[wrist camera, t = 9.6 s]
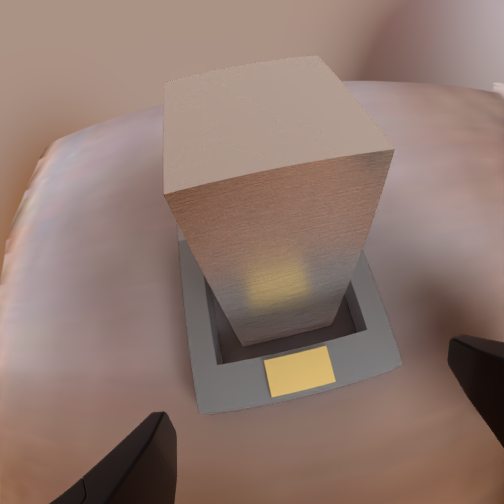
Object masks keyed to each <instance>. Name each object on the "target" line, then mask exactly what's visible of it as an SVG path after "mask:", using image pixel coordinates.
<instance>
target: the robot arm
mask: <svg viewBox="0 0 504 504" xmlns="http://www.w3.org/2000/svg"><path fill="white" fill-rule="evenodd" d="M448 364H449V367H450V368H451V370H452V372H453V373H454V375H455V377H456V378H457V380H458V382H459V383H460V385H461V387H462V388H463V390H464V392H465V394H466V395H467V397H468V398H469V400H470V401H471V403H472V404H473V405H474V407H475V408H476V409H477V411H478V412H479V413H480V415H481V416H482V418H483V419H484V420H485V422H486V423H487V425H488V426H489V427H490V429H491V430H492V432H493V433H494V435H495V436H496V437H497V439H498V440H499V442H500V443H501V445H502V446H503V448H504V342H499V341H494V340H488V339H483V338H478V337H473V336H468V335H463V334H460V335H457V336H455V337H453V338H451V340H450V342H449V351H448ZM176 482H177V436H176V431H175V429H174V427H173V425H172V423H171V421H170V419H169V417H168V415H167V413H166V412H164V411H162V412H153V413H151V414H150V415H149V416H148V417H147V418H146V419H145V420H144V421H143V422H142V423H141V424H140V425H139V426H137V427H136V428H135V429H134V430H133V431H132V432H131V433H130V434H129V435H128V436H127V437H126V438H125V439H124V440H123V441H122V442H120V443H119V444H118V445H117V446H116V447H115V448H114V449H113V450H112V451H111V452H110V453H109V454H108V455H106V456H105V457H104V458H103V459H102V460H101V461H100V462H99V463H98V464H97V465H95V466H94V467H93V468H92V469H91V470H90V471H89V472H88V473H87V474H85V475H84V476H83V478H81V479H80V480H79V481H78V482H76V483H75V484H74V485H73V486H72V487H71V488H69V489H68V490H67V491H66V492H64V493H63V494H62V495H61V496H59V497H58V498H57V499H55V500H54V501H52V502H51V503H50V504H174V501H175V492H176Z"/></svg>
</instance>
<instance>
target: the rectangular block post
mask: <svg viewBox="0 0 504 504" xmlns="http://www.w3.org/2000/svg"><path fill="white" fill-rule="evenodd" d="M394 150H395V149H394V148H393V146H392V145H391V143H390V142H389V141H388V139H387V138H386V137H385V135H384V134H383V132H382V131H381V130H380V128H379V127H378V126H377V125H376V123H375V122H374V121H373V119H372V118H371V117H370V115H369V114H368V113H367V112H366V110H365V109H364V108H363V107H362V105H361V104H360V103H359V102H358V101H357V99H356V98H355V97H354V96H353V95H352V93H351V92H350V91H349V90H348V89H347V88H346V86H345V85H344V84H343V83H342V82H341V81H340V80H339V78H338V77H337V76H336V75H335V74H334V73H333V72H332V71H331V70H330V68H329V67H328V66H327V65H326V64H325V63H324V62H323V61H322V60H321V59H320V58H319V57H318V56H306V57H295V58H287V59H278V60H271V61H264V62H257V63H251V64H245V65H239V66H234V67H228V68H224V69H219V70H214V71H209V72H205V73H200V74H197V75H192V76H188V77H184V78H180V79H176V80H173V81H169V82H165V92H164V123H163V181H164V196H165V198H166V200H167V202H168V204H169V206H170V208H171V210H172V212H173V214H174V217H175V219H176V221H177V223H178V225H179V227H180V229H181V231H182V233H183V235H184V237H185V239H186V241H187V243H188V245H189V247H190V249H191V251H192V253H193V255H194V256H195V258H196V260H197V262H198V264H199V266H200V268H201V270H202V272H203V274H204V276H205V278H206V280H207V282H208V283H209V285H210V287H211V289H212V291H213V293H214V295H215V297H216V299H217V300H218V302H219V304H220V306H221V308H222V310H223V311H224V313H225V315H226V317H227V319H228V321H229V322H230V324H231V326H232V328H233V330H234V332H235V333H236V335H237V337H238V339H239V341H240V342H241V344H242V346H248V345H252V344H257V343H261V342H266V341H270V340H275V339H279V338H283V337H287V336H291V335H296V334H300V333H304V332H307V331H311V330H315V329H319V328H323V327H326V326H330V325H332V322H333V320H334V318H335V316H336V313H337V311H338V309H339V306H340V304H341V301H342V299H343V297H344V294H345V292H346V289H347V287H348V284H349V282H350V279H351V277H352V274H353V272H354V269H355V267H356V264H357V261H358V259H359V256H360V253H361V251H362V248H363V245H364V243H365V240H366V237H367V234H368V232H369V229H370V226H371V223H372V220H373V217H374V214H375V211H376V208H377V205H378V202H379V199H380V196H381V193H382V190H383V187H384V183H385V180H386V177H387V174H388V170H389V167H390V164H391V160H392V157H393V153H394Z"/></svg>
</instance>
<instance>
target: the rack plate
mask: <svg viewBox="0 0 504 504" xmlns="http://www.w3.org/2000/svg"><path fill="white" fill-rule="evenodd" d="M177 231H178V245H179V258H180V270H181V281H182V291H183V301H184V310H185V319H186V328H187V336H188V344H189V352H190V359H191V366H192V373H193V380H194V387H195V393H196V399H197V405H198V411H199V414H206V415H211V414H218V413H225V412H231V411H237V410H243V409H249V408H254V407H259V406H264V405H269V404H274V403H279V402H283V401H288V400H292V399H297V398H301V397H305V396H309V395H313V394H317V393H321V392H324V391H328V390H332V389H335V388H339V387H342V386H346V385H349V384H352V383H356V382H359V381H362V380H365V379H368V378H371V377H374V376H377V375H380V374H383V373H386V372H389V371H391V370H393V369H395V368H397V367H399V366H400V365H402V364H403V363H402V360H401V356H400V353H399V350H398V347H397V344H396V341H395V338H394V334H393V331H392V328H391V326H390V323H389V320H388V317H387V314H386V311H385V308H384V305H383V303H382V300H381V297H380V294H379V292H378V289H377V286H376V284H375V281H374V278H373V276H372V273H371V271H370V268H369V265H368V263H367V260H366V258H365V255H364V253H363V250H362V251H361V253H360V256H359V259H358V261H357V264H356V267H355V269H354V272H353V274H352V277H351V279H350V282H349V284H348V287H347V289H346V292H345V297H346V300H347V303H348V307H349V310H350V313H351V316H352V319H353V322H354V325H355V329H356V332H357V333H354V334H351V335H347V336H344V337H340V338H337V339H333V340H329V341H325V342H322V343H318V344H314V345H310V346H306V347H302V348H297V349H293V350H289V351H285V352H280V353H276V354H271V355H267V356H262V357H257V358H252V359H247V360H242V361H237V362H232V363H226V364H223V361H222V355H221V349H220V343H219V337H218V330H217V324H216V318H215V311H214V305H213V298H212V291H211V287H210V285H209V283H208V282H207V280H206V278H205V276H204V274H203V272H202V270H201V268H200V266H199V264H198V262H197V260H196V258H195V256H194V255H193V253H192V251H191V249H190V247H189V245H188V243H187V241H186V239H185V237H184V235H183V233H182V231H181V229H180V227H179V225H178V224H177Z"/></svg>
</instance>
